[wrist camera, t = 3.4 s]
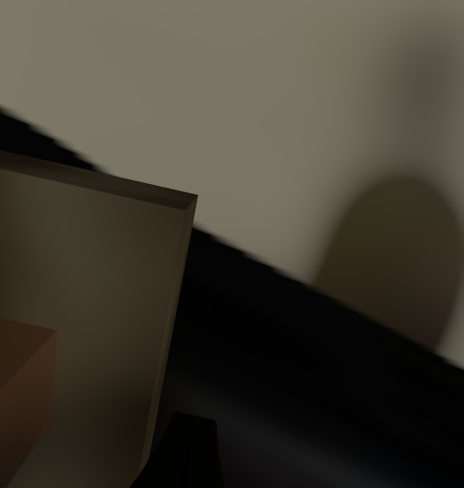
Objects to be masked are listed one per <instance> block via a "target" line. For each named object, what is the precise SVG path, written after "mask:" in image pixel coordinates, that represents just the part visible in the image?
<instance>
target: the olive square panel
mask: <svg viewBox="0 0 464 488" xmlns="http://www.w3.org/2000/svg"><path fill="white" fill-rule="evenodd" d="M197 198H198V195H196V194H191V193H187V192H182V191H178V190H174V189H169V188H165V187H160V186H156V185H151V184H147V183H143V182H138V181H134V180H130V179H125V178H121V177H116V176H112V175H108V174H103V173H99V172H94V171H90V170H85V169H81V168H77V167H72V166H68V165H63V164H59V163H55V162H50V161H46V160H41V159H37V158H33V157H28V156H24V155H19V154H15V153H10V152H6V151H2V150H0V318H3V319H8V320H12V321H17V322H21V323H26V324H30V325H35V326H40V327H44V328H49V329H53V330H57V344H56V360H55V376H54V392H53V409H52V422H51V423H50V425H49V426H48V428H47V429H46V431H45V432H44V433H43V435H42V436H41V438H40V439H39V441H38V442H37V444H36V445H35V447H34V448H33V450H32V451H31V452H30V454H29V455H28V457H27V458H26V460H25V461H24V463H23V464H22V466H21V467H20V468H19V470H18V471H17V473H16V474H15V476H14V477H13V479H12V480H11V482H10V483H9V484H8V486H7V487H6V488H130V486H131V485H132V483H133V482H134V481H135V479H136V478H137V477H138V475H139V474H140V472H141V471H142V469H143V468H144V466H145V465H146V463H147V461H148V460H149V454H150V449H151V444H152V438H153V433H154V428H155V422H156V417H157V412H158V406H159V401H160V396H161V390H162V385H163V380H164V374H165V369H166V364H167V358H168V353H169V348H170V342H171V337H172V332H173V326H174V321H175V316H176V310H177V305H178V300H179V294H180V289H181V284H182V278H183V273H184V268H185V262H186V257H187V252H188V246H189V241H190V235H191V230H192V225H193V219H194V214H195V208H196V203H197Z"/></svg>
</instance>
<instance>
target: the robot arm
mask: <svg viewBox="0 0 464 488" xmlns="http://www.w3.org/2000/svg"><path fill="white" fill-rule="evenodd" d="M130 488H225V486H224V481H223V476H222V471H221V465H220V458H219V450H218V441H217V423H216V422H215V420H211V419H206V418H202V417H197V416H193V415H188V414H183V413H179V412H176V413H174V414H173V415H172V418H171V421H170V423H169V425H168V427H167V429H166V431H165V433H164V435H163V437H162V439H161V440H160V442H159V444H158V446H157V447H156V449H155V451H154V452H153V454H152V455H151V457H150V458H149V460H148V461H147V463H146V465H145V466H144V468H143V469H142V471H141V472H140V474H139V475H138V477H137V478H136V479H135V481H134V482H133V483H132V485H131V486H130Z"/></svg>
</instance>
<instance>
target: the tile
mask: <svg viewBox="0 0 464 488" xmlns="http://www.w3.org/2000/svg"><path fill="white" fill-rule="evenodd" d="M56 344H57V330H53V329H49V328H44V327H40V326H35V325H30V324H26V323H21V322H17V321H12V320H8V319H3V318H0V488H6V487H7V486H8V484H9V483H10V482H11V480H12V479H13V477H14V476H15V474H16V473H17V471H18V470H19V468H20V467H21V466H22V464H23V463H24V461H25V460H26V458H27V457H28V455H29V454H30V452H31V451H32V450H33V448H34V447H35V445H36V444H37V442H38V441H39V439H40V438H41V436H42V435H43V433H44V432H45V431H46V429H47V428H48V426H49V425H50V423H51V422H52V409H53V392H54V376H55V360H56Z"/></svg>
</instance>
